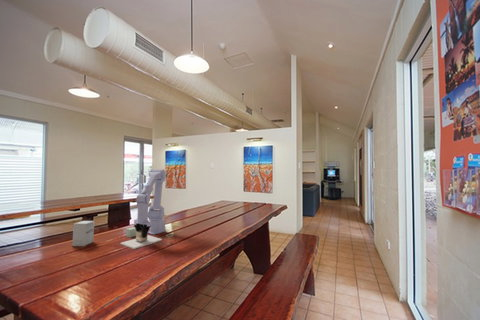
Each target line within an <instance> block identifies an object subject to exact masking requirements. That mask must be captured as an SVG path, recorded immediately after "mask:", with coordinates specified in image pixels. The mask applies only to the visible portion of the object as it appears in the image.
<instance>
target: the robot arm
mask: <svg viewBox="0 0 480 320" xmlns="http://www.w3.org/2000/svg"><path fill="white" fill-rule="evenodd" d="M148 177H149V179H148V180H147V184H145V185H144V186H143V188H142V190H141V192H140V194H139V193H138V194H137V196H136V198H135V201H136V206H137V218H136V219H134V220H133V223H134V224H133V226H134V228H135V229H136V232H137V231H141V230H142V237H143V238H145V237H147V235H148V234H151V235H157V234H161V233H165V232H166V220H165V218H164V217H165V207H163V206H162V205H161V203H162V194H163V193H162V191H163V183H164V182H165V181H166V170H165V169H164V168H163V169H150V170H149V172H148ZM153 190H154V194H153V201H152V205H151V206H150V207H149V203H150V201H151V197H152V192H153ZM148 219H149V220H148Z"/></svg>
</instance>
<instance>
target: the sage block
mask: <svg viewBox="0 0 480 320" xmlns="http://www.w3.org/2000/svg"><path fill="white" fill-rule="evenodd" d="M136 232H137V231H136V229H135V227H133V226H132V227H128V228H126V229H125V237H126V238H133V236H134V237H136Z"/></svg>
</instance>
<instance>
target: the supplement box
mask: <svg viewBox="0 0 480 320" xmlns="http://www.w3.org/2000/svg"><path fill="white" fill-rule="evenodd" d="M72 228H73V229H72V241H71V242H72V243H71V246H72V247H85V246H87V245H90V244H92V243H93V242H94V237H95V235H94V234H95V220H82V221H78V222H75V223H73V227H72Z"/></svg>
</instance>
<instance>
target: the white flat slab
mask: <svg viewBox="0 0 480 320" xmlns="http://www.w3.org/2000/svg"><path fill="white" fill-rule="evenodd" d="M162 240H163V239H162V238H159V237H157V236H156V237H155V236H154V235H148V234H147V240H144V241H141V242H140V241H137V240H136V238H133V239H129V240H126V241H122V242H119V244H120V245H121V246H124V247H127V248H129V249H132V250H136V249H139V248H142V247H145V246H148V245H151V244H152V245H153V244H155V243H158V242H161V241H162Z"/></svg>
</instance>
